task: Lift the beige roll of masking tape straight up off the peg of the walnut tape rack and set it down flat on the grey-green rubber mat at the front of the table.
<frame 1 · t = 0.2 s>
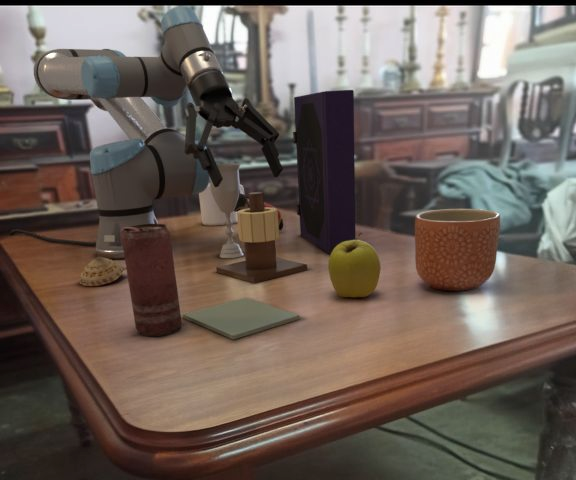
hand: (249, 178, 112), 16 cm above the table, tool tilted 35°, fingers open, 13 cm apart
mat: (240, 318, 83), on the table
apple: (354, 296, 90), on the table
figurine: (255, 235, 143), on the table
mug: (224, 222, 163), on the table
planter: (453, 286, 92), on the table
tape rack: (261, 271, 108), on the table
can: (158, 330, 80), on the table
chalice: (231, 256, 122), on the table
tape roll: (259, 238, 106), point 6 cm above the table, touching tape rack
seashell: (103, 281, 108), on the table
book: (325, 244, 128), on the table
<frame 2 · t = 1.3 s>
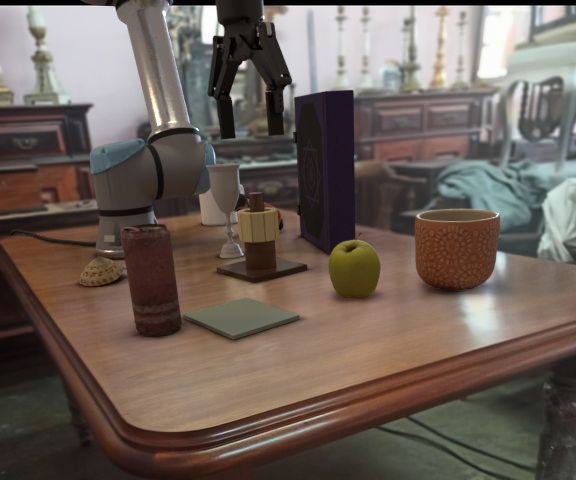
hand: (251, 137, 100), 23 cm above the table, tool pointing down, fingers open, 13 cm apart
nothing on the table moved.
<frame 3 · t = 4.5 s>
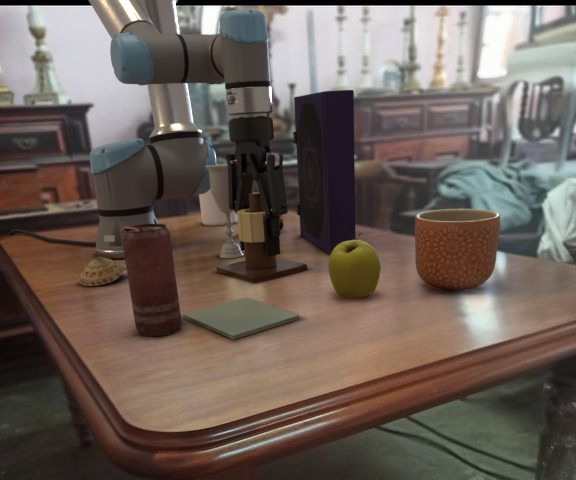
hand: (260, 251, 107), 4 cm above the table, tool pointing down, fingers closed on tape roll, 7 cm apart
tape roll: (259, 238, 106), point 6 cm above the table, touching gripper, tape rack
everything else where it was.
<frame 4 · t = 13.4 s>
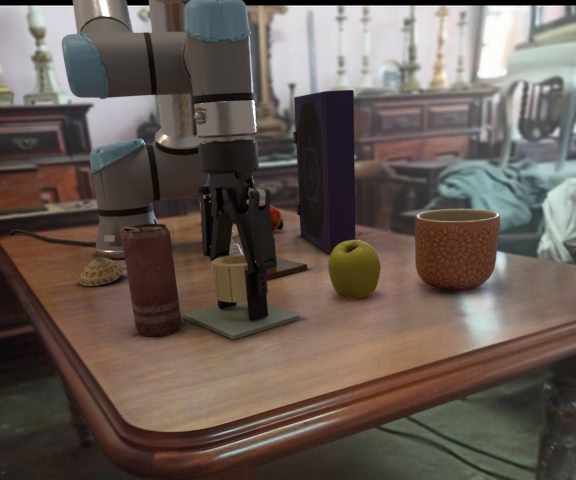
hand: (242, 311, 83), 1 cm above the table, tool pointing down, fingers closed on tape roll, 7 cm apart
tape roll: (241, 295, 82), point 3 cm above the table, touching gripper
everything else where it was.
when the fingers open (1 cm above the table, at t = 13.6 s): tape roll drops 3 cm, resting on mat.
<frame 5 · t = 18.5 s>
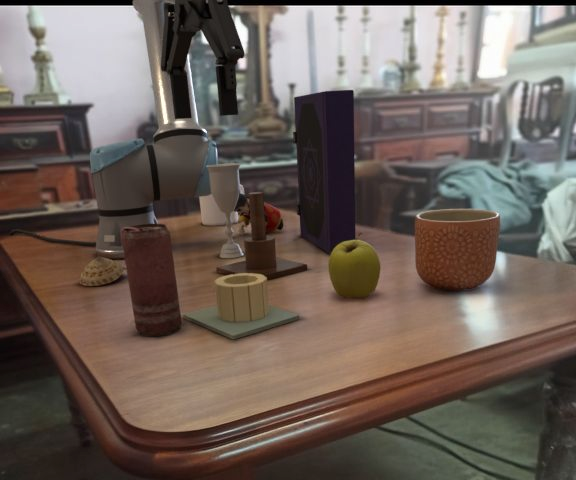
hand: (205, 117, 91), 27 cm above the table, tool pointing down, fingers open, 13 cm apart
tape roll: (243, 314, 83), point 1 cm above the table, touching mat
everything else where it was.
at the end: tape roll inside the target area on the mat (0.5 cm from its centre), point 0.6 cm above the mat's base; tape roll tilted 0°; tape roll touching mat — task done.
